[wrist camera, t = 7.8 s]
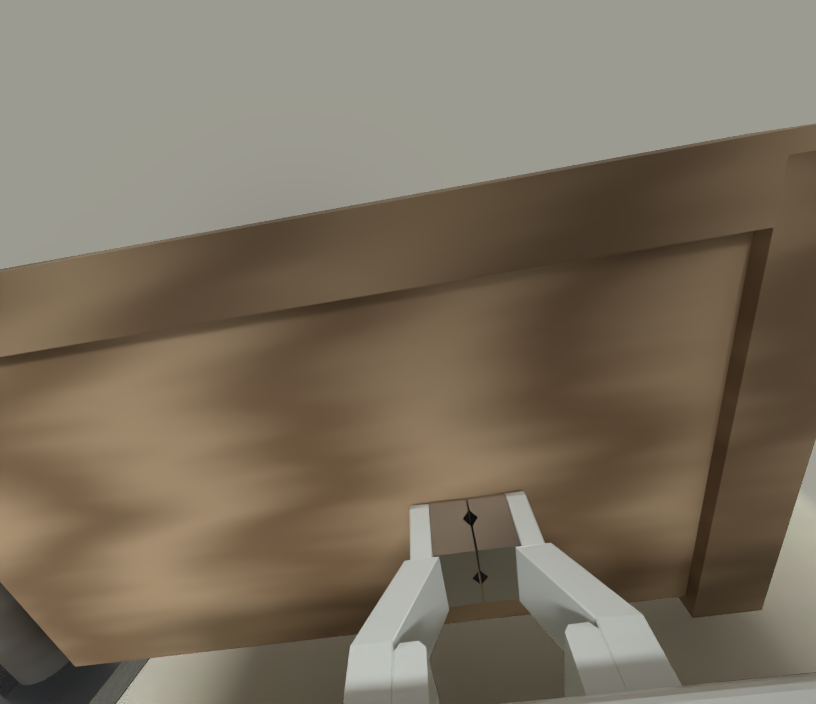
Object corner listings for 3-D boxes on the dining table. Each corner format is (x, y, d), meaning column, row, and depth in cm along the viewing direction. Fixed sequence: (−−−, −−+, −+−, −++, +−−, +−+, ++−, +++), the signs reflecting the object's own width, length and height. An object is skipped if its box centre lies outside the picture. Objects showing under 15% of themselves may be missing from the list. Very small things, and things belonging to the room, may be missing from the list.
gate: (7, 694, 13) (-391, 320, 7) (57, 630, 15) (-234, 294, 9) (761, 609, 11) (930, 76, 6) (711, 551, 13) (808, 101, 8)
